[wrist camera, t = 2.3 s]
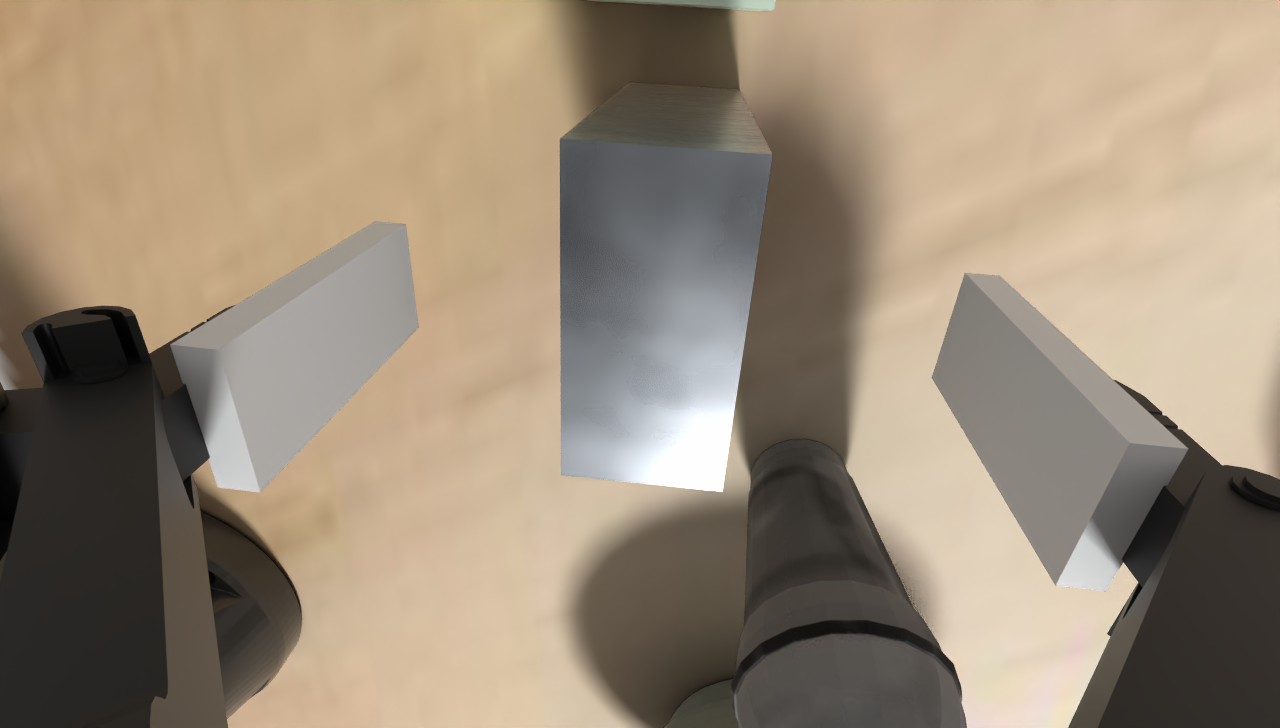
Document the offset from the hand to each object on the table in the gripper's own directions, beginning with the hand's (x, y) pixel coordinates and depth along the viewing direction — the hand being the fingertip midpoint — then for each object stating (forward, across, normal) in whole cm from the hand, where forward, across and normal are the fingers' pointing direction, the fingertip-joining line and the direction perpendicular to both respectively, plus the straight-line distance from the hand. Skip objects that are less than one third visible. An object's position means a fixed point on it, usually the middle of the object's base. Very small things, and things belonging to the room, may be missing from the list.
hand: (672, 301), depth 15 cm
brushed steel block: (+11, 0, 0) cm, 11 cm away
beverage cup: (+11, +6, -13) cm, 18 cm away
